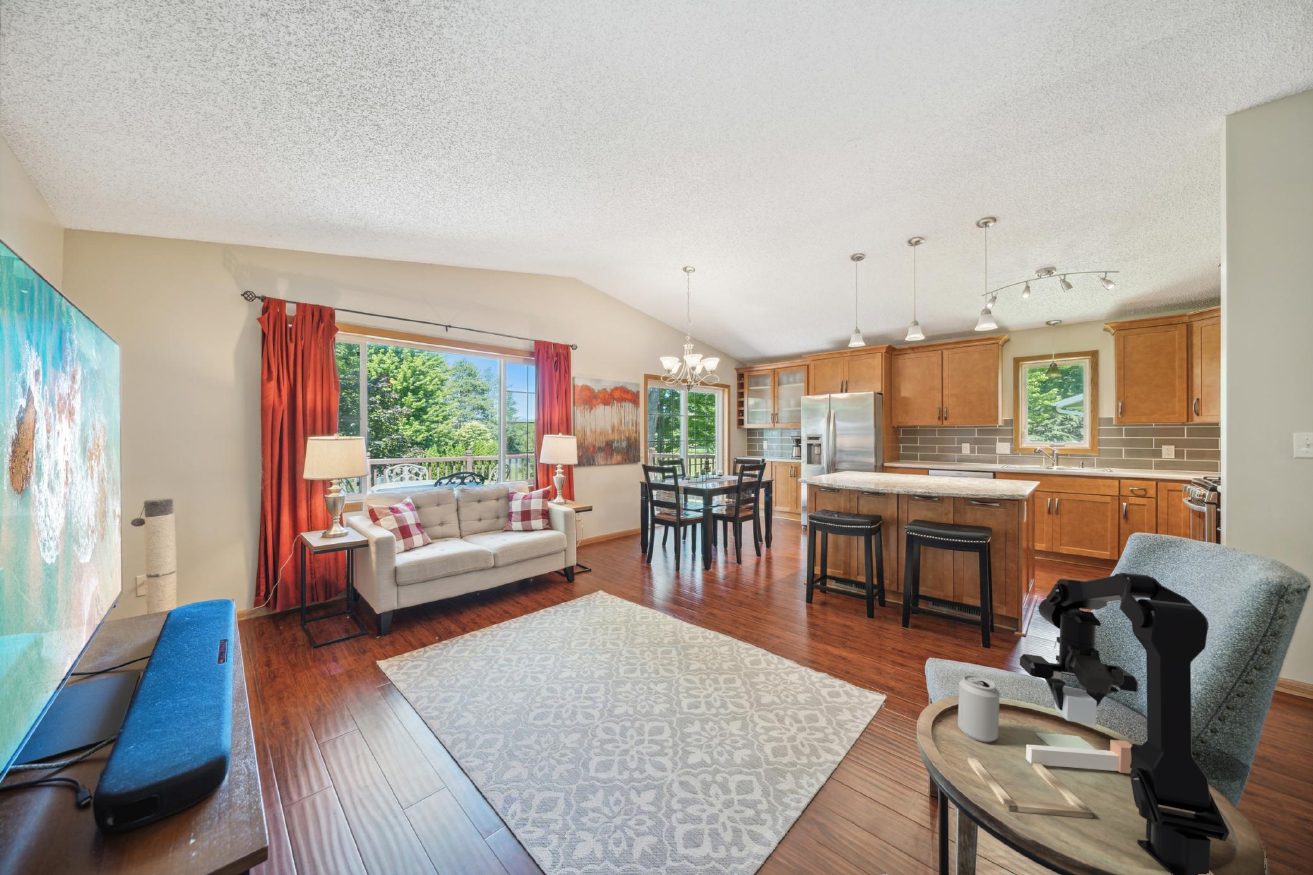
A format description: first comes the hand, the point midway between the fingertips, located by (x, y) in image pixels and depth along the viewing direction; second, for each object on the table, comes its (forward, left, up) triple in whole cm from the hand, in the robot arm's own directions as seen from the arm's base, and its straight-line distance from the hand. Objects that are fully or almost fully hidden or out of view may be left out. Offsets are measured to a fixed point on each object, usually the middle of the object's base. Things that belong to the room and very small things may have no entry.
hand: (1074, 711), depth 102 cm
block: (0, 0, -1) cm, 1 cm away
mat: (0, 0, -8) cm, 8 cm away
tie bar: (-6, +4, -8) cm, 11 cm away
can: (+3, +18, -8) cm, 20 cm away
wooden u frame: (-13, +19, -8) cm, 24 cm away
